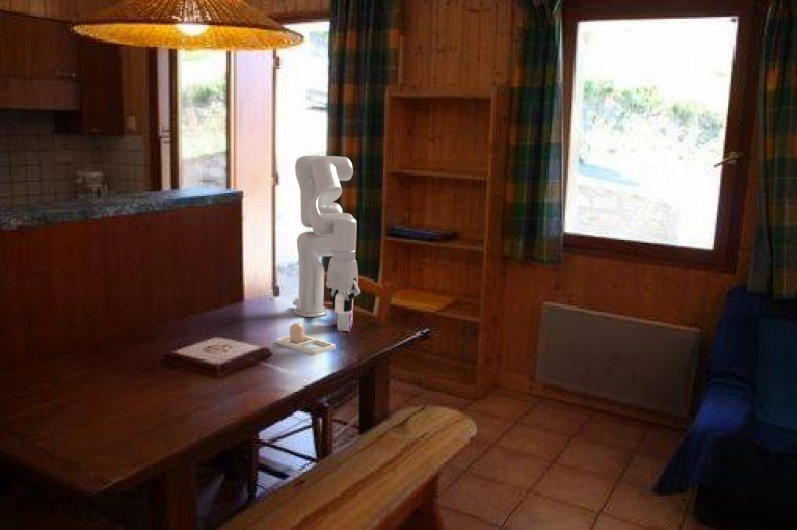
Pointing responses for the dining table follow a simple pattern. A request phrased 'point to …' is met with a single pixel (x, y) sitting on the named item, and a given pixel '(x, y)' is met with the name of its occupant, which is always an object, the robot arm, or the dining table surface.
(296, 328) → the brown egg
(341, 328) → the candy bar box
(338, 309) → the white egg
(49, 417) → the dining table surface
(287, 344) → the caddy
